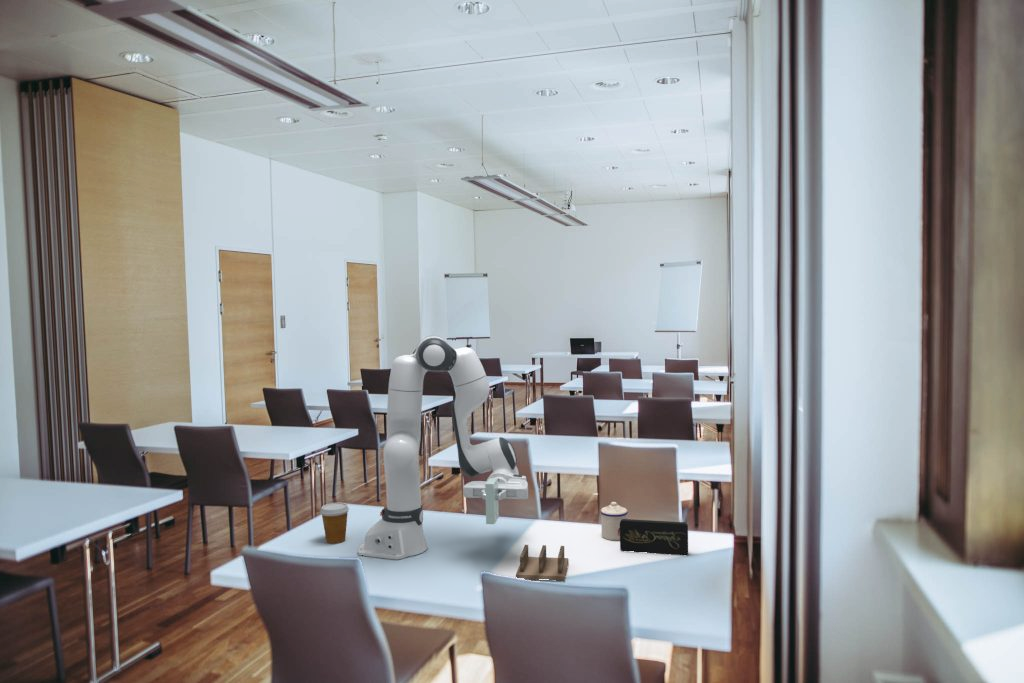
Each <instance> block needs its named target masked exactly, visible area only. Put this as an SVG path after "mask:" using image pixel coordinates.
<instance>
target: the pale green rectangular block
mask: <svg viewBox="0 0 1024 683" xmlns="http://www.w3.org/2000/svg"><path fill="white" fill-rule="evenodd" d="M486 481H487V480H486ZM496 493H498V478H489V480H488V481H487V482H486V484H485V497H486V500H485V524H486V525H495V524H496V523H497V521H498V519H499V518H500V512H499V510H500V509H499V506H500V505H499V500H496Z"/></svg>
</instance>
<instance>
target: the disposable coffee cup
mask: <svg viewBox="0 0 1024 683" xmlns="http://www.w3.org/2000/svg"><path fill="white" fill-rule="evenodd" d="M349 510H350V508H349V506H348V503H345V502H332V503H331V502H330V503H326V504H323V505H322V506H321V508H320V510H319V511H320V512H319V513H320V515H321V517H322V518H321V519H322V523H323V530H324V535H325V541H326V543H327V544H332V545H333V544H334V545H335V544H340V543H343V542H345V541H346V535H347V534H346V533H347V526H348V525H347V522H348V512H349Z"/></svg>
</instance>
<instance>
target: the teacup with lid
mask: <svg viewBox="0 0 1024 683" xmlns="http://www.w3.org/2000/svg"><path fill="white" fill-rule="evenodd" d="M628 513H629V512H628V509H627V508H626V507H624V506H621V505H619V504H618V503H617V502H616V501H612V502H610V504H609V505H607V506H604V507H602V508H601V509H600V516H601V518H600V520H601V537H602V538H603V539H605V540H609V541H620V521H621V520H622V519H628Z"/></svg>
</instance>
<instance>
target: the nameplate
mask: <svg viewBox="0 0 1024 683" xmlns="http://www.w3.org/2000/svg"><path fill="white" fill-rule="evenodd" d="M619 548H620V549H619V550H620V551H621V552H624V551H634V552H633V553H639V552H647V553H646V554H654V553H656V554H657V555H669V554H671V556H672V555H673V556H684V555H686V556H688V555H689V525H688V523H687V522H685V521H684V522H683V521H670V520H669V521H667V520H652V519H651V520H650V519H649V520H648V519H646V520H645V519H631V518H630V519H628V518H627V519H622V520H621V521H620V540H619Z"/></svg>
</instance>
